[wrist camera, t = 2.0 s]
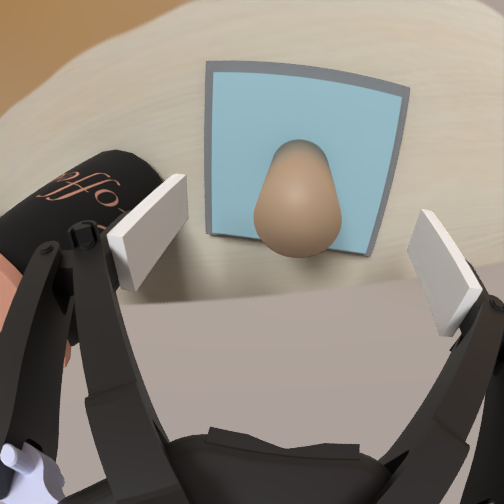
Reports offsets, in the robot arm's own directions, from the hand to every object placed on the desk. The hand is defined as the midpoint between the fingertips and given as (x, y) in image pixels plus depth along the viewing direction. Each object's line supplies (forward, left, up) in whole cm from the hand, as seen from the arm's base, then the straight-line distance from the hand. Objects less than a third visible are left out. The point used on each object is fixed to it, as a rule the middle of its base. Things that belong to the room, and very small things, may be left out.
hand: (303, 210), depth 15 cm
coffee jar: (-17, -5, -10) cm, 21 cm away
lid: (0, 0, -9) cm, 9 cm away
